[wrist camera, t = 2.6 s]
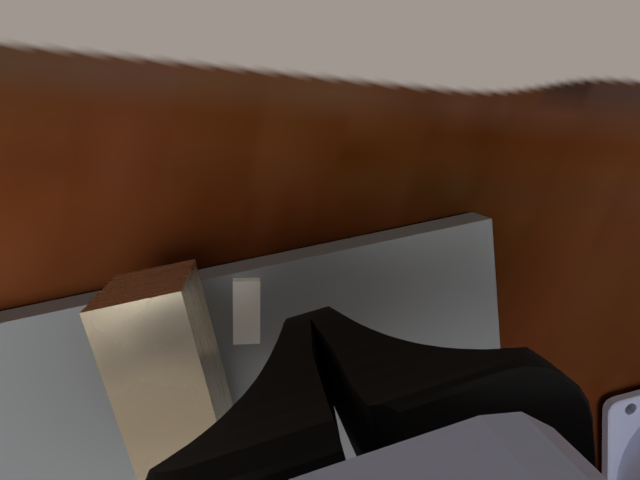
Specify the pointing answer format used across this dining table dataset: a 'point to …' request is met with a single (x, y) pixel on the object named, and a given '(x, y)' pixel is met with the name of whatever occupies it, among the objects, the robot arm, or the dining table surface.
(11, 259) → the dining table surface
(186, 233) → the dining table surface
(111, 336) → the door lever handle
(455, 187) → the dining table surface
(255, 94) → the dining table surface
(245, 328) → the lock plate
